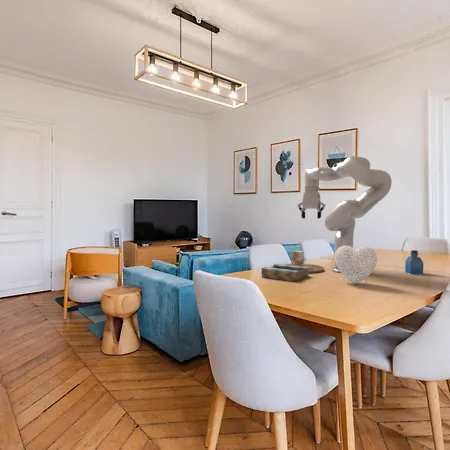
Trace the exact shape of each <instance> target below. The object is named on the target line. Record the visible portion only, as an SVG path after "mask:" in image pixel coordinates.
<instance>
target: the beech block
mask: <svg viewBox="0 0 450 450" xmlns="http://www.w3.org/2000/svg"><path fill="white" fill-rule="evenodd" d="M304 255H305V253H304V250H297V249H296V250H292V251H291V263H290V264H291V265H293V266H303V267H304V264H305V263H304V262H305V261H304Z"/></svg>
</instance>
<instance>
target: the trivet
mask: <svg viewBox="0 0 450 450" xmlns="http://www.w3.org/2000/svg"><path fill="white" fill-rule="evenodd" d="M284 265H291V263H285V264H284ZM304 267H309V271H308V275H312V274H320V273H323V272H324V270H325V269H324V268H325V267H324V266H322V265H318V264H311V263H304Z"/></svg>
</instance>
